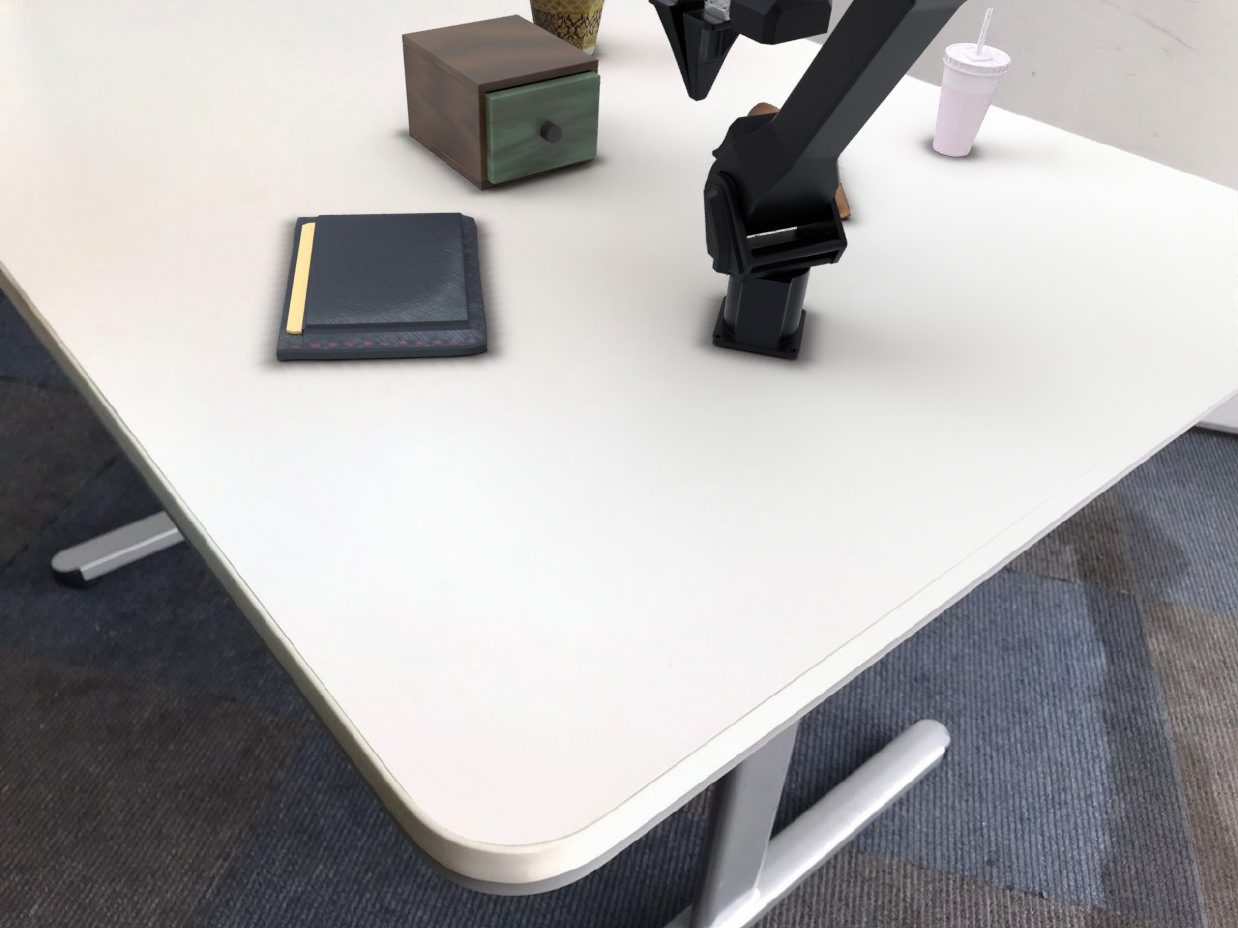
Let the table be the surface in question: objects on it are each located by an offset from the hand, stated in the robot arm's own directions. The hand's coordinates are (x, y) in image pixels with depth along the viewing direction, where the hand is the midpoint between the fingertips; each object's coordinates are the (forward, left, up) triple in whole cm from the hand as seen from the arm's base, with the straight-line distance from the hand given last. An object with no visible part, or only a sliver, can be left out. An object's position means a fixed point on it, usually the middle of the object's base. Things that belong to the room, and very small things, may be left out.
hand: (697, 98), depth 78 cm
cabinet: (+14, +20, -13) cm, 28 cm away
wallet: (-13, +21, -13) cm, 28 cm away
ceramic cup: (+42, +23, -13) cm, 50 cm away
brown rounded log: (+18, -8, -13) cm, 24 cm away
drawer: (+12, +19, -12) cm, 25 cm away
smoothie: (+30, -23, -13) cm, 40 cm away
